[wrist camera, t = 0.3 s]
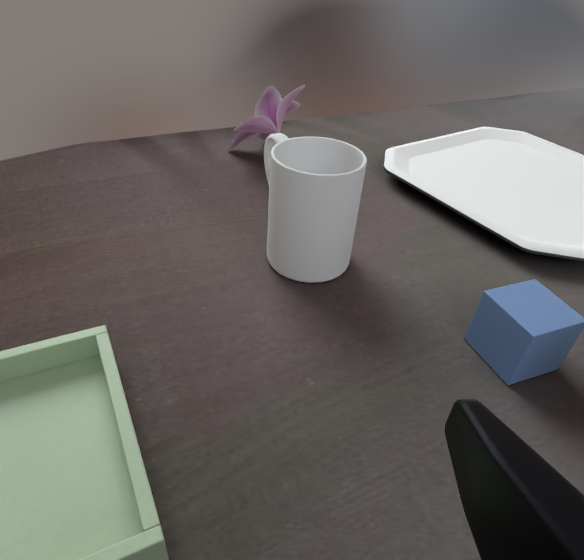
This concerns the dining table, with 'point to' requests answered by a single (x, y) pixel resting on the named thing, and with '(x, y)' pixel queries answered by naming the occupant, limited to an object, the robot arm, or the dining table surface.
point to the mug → (312, 205)
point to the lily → (267, 115)
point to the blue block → (523, 330)
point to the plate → (502, 185)
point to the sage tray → (71, 456)
